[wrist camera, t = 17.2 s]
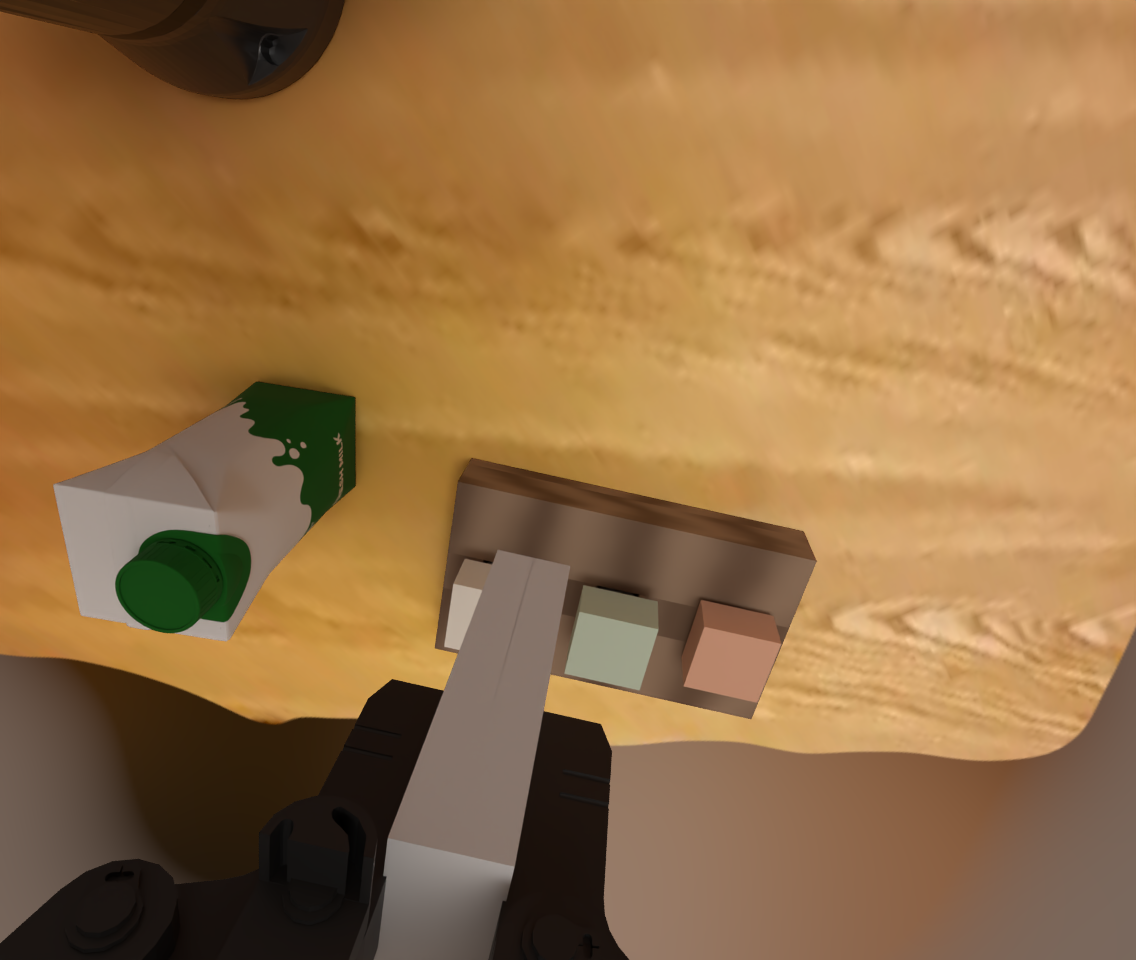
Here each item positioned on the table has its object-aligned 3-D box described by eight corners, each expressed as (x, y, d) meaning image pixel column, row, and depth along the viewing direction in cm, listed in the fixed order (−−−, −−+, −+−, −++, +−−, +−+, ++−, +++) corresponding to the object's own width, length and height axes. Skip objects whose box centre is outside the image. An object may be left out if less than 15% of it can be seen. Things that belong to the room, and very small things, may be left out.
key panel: (448, 616, 55) (434, 648, 51) (471, 458, 49) (457, 481, 45) (744, 682, 54) (751, 719, 51) (803, 531, 49) (816, 561, 45)
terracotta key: (679, 631, 51) (683, 686, 46) (697, 575, 49) (704, 626, 44) (745, 645, 51) (757, 702, 46) (766, 591, 49) (781, 643, 44)
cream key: (465, 594, 50) (444, 646, 45) (475, 536, 48) (453, 583, 43) (532, 609, 50) (519, 663, 45) (544, 551, 48) (532, 601, 43)
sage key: (572, 618, 50) (564, 673, 45) (586, 561, 48) (579, 611, 43) (640, 633, 50) (639, 690, 45) (657, 576, 48) (658, 629, 43)
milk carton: (368, 498, 51) (216, 681, 33) (249, 479, 51) (35, 650, 33) (368, 385, 47) (198, 522, 29) (241, 365, 48) (-6, 488, 30)
